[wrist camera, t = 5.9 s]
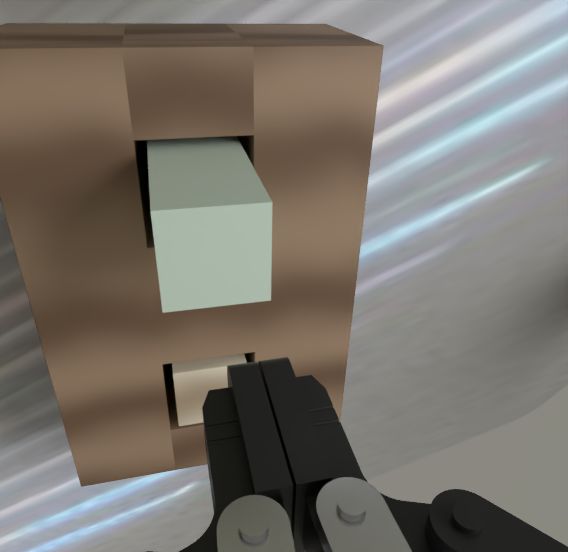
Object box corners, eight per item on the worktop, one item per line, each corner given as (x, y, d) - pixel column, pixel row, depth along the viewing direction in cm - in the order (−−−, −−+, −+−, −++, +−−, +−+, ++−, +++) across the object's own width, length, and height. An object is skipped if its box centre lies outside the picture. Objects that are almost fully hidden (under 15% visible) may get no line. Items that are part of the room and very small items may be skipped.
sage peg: (146, 139, 23) (150, 211, 17) (236, 135, 24) (272, 202, 17) (156, 220, 25) (162, 312, 19) (237, 214, 26) (271, 300, 20)
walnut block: (6, 23, 25) (-42, 49, 18) (325, 23, 28) (383, 45, 22) (91, 392, 37) (81, 486, 31) (305, 361, 41) (337, 441, 34)
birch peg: (166, 294, 34) (172, 373, 28) (226, 287, 35) (247, 363, 28) (171, 342, 36) (178, 426, 30) (228, 334, 37) (247, 415, 31)
